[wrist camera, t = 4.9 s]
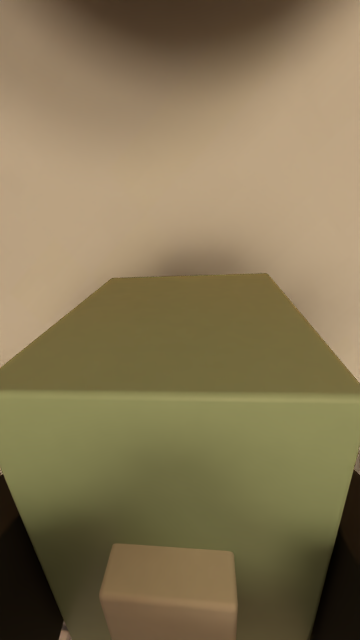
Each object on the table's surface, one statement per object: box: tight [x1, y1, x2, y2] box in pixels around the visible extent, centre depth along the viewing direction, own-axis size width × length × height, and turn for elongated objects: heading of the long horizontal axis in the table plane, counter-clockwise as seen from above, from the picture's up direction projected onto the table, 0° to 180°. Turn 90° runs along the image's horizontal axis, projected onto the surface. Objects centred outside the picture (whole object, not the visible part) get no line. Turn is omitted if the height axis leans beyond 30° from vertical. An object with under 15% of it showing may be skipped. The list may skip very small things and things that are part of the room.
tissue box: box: [0, 273, 360, 640], centre depth 8 cm, size 9×5×7 cm, turn 3°
